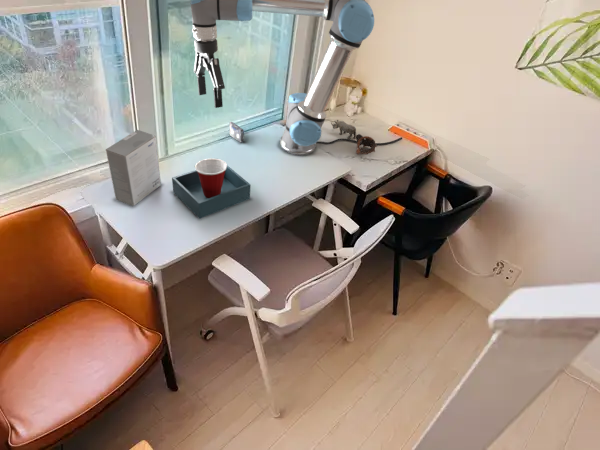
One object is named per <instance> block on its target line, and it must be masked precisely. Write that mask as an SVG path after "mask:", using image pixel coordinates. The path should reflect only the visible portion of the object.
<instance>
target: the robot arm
mask: <svg viewBox="0 0 600 450" xmlns="http://www.w3.org/2000/svg"><path fill="white" fill-rule="evenodd" d="M190 10H191V11H190V12H191V20H192V29H191V31H192V33H193V38H194V41H193V42H194V51H195V52H194V53H195V58H194V65H193V74H195V76H196V79H197V80H196V81H197V91H198V96H204V95H207V85H206V73H205V72H206V71H207V72H208V73H209V77H210V80H211V83H212V86H213V88H212V91H213V104H214V108H215V109H218V108H223V106H224V105H223V90H224V89H226V86H225V82H224V78H223V73H222V69H221V65H220V59H219V58H218V57H217V58H215V53H216V52H218V50H219V48H218V46H219V45H218V39H217V38H218V31H217V30H218V28H217V21H234V22H248V21H249V22H250V21H251V20H253V12H256V13H257V12H258V13H270V14H283V15H296V16H309V17H319V18H320V17H321V19H323V20H324V21H328V22H329V21H330V22H332V23H331V27H330V29H329V31H328V35H329V38H330V40H329V41H328V45H327V46H326V49H325V51H324V54H323V56H322V58H321V61H320V62H319V65H318V67H317V69H316V72H315V74H314V77H313V78H312V81H311V83H310V85H309V87H308V91H307V92H306V93H305V92H294V93H291V94H290V95H289V96H288V100H287V111H286V119H285V120H286V121H285V129H284V131H283V133H282V136H281V137H280V140H279V147H280V148H281V150H282V151H284V152H286V153H288V154H289V155H295V156H307V155H310V154H312V153H314V151H315V149H316V144H317V145H332V144H335V143H337V142H349V143H355V144H357V143H358V142H357V140H356V139H352V138H351V139H348V138H343V137H341V138H336V139H334V140H332V141H331V140H330V141H320V139H321V138H322V127H323V125H324V122H325V120H326V118H327V113H326V110H327V107H328V105H329V103H330V101H331V99H332V96H333V94H334V92H335V90H336V88H337V85H338V83H339V81H340V79H341V78H342V75H343V73H344V71H345V69H346V67H347V64H348V62H349V61H350V59H351V56H352V54H353V52H354V51H355V50H358V49H360V47H361V45H362V43H363V42H364V40H366V39H368V37H369V36H370V35H371V33H372V32H373V30H374V26H375V15H374V11H373V9H372V7H371V6H370V4H369V3H368V2H367V1H366V0H190ZM401 140H403V137H402V136H400V137H398V138H397V139H394V140H391V141H386V142H375V143H376V145H377V146H386V145H391V144H395V143H398V142H399V141H401ZM362 145H363V143H362Z"/></svg>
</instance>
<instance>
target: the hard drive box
mask: <svg viewBox="0 0 600 450" xmlns="http://www.w3.org/2000/svg"><path fill="white" fill-rule="evenodd" d="M105 153H106V158H107V163H108V167H109V172H110V178H111V182H112V188H113V193H114V197H115V200H116V201H118V202H120V203H123V204H125V205H129V206H131V207H134V206H136V205H137V204H138V203H140V202H141V201H143V199H145V198H146V197H148V196H149V195H150V194H151V193H152V192H154V191H155V190H156V189H158V188H159V187H160V186H161V185H162V179H161V171H160V163H159V156H158V155H159V154H158V146H157V137H156V135H154V134H152V133H149V132H146V131H142V130H140V129H136V130H135V131H133V132H131V133H129V134H128V135H126V136H124V137H123V138H122V139H120V140H118V141H117V142H115V143H114V144H111V146H109V147H107V148H106V149H105Z"/></svg>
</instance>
